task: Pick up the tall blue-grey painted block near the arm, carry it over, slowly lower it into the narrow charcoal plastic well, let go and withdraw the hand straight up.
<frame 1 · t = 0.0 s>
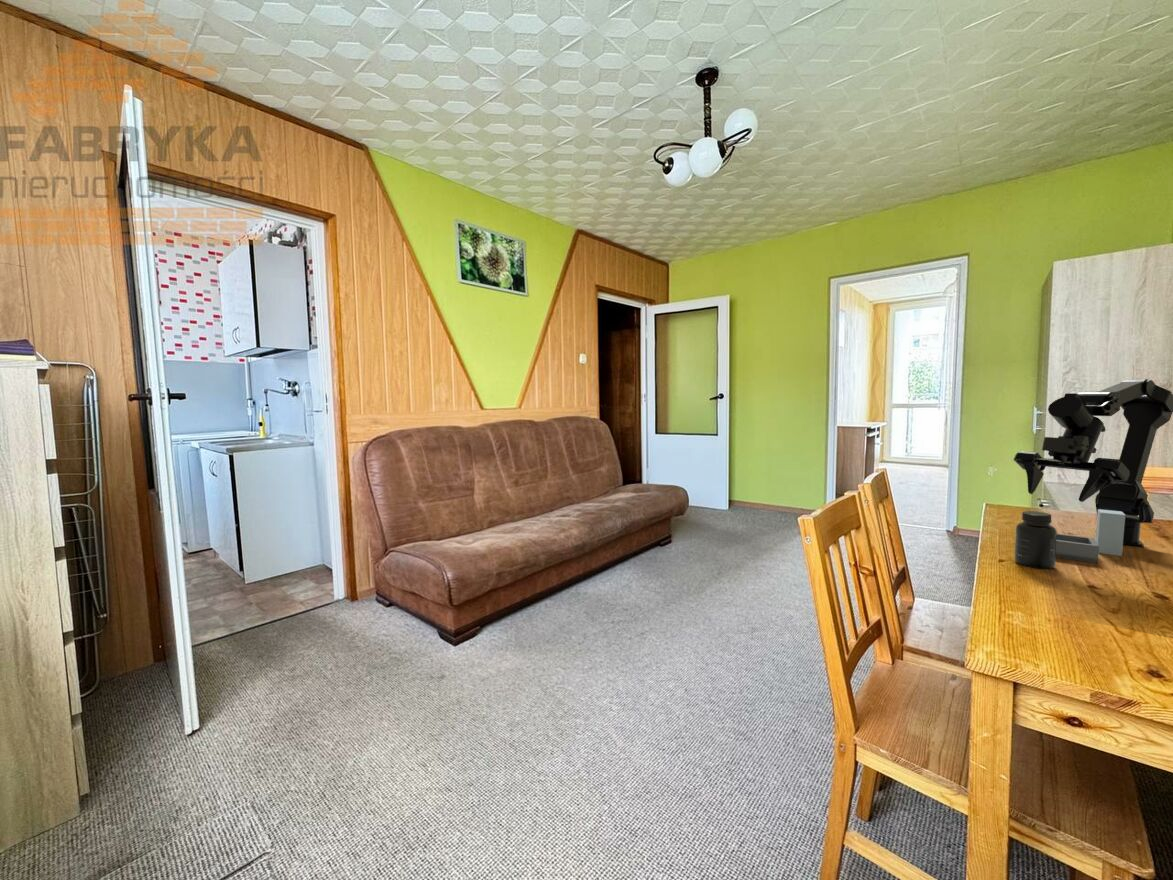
hand: (1054, 497, 110), 15 cm above the table, tool tilted 35°, fingers open, 9 cm apart
supplement bottle: (1033, 565, 108), on the table
blue-grey block: (1107, 552, 115), on the table
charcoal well: (1070, 555, 113), on the table
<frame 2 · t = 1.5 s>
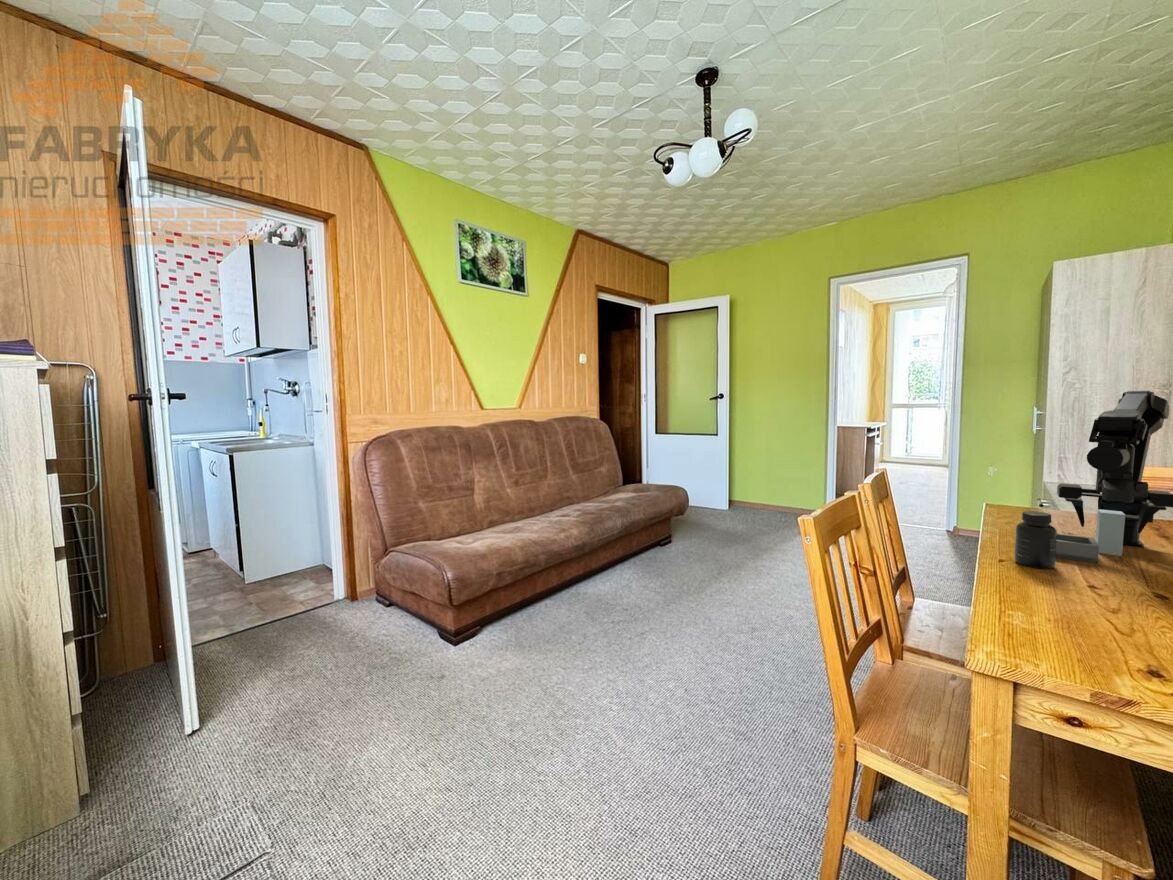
hand: (1109, 529, 114), 6 cm above the table, tool pointing down, fingers open, 9 cm apart
nothing on the table moved.
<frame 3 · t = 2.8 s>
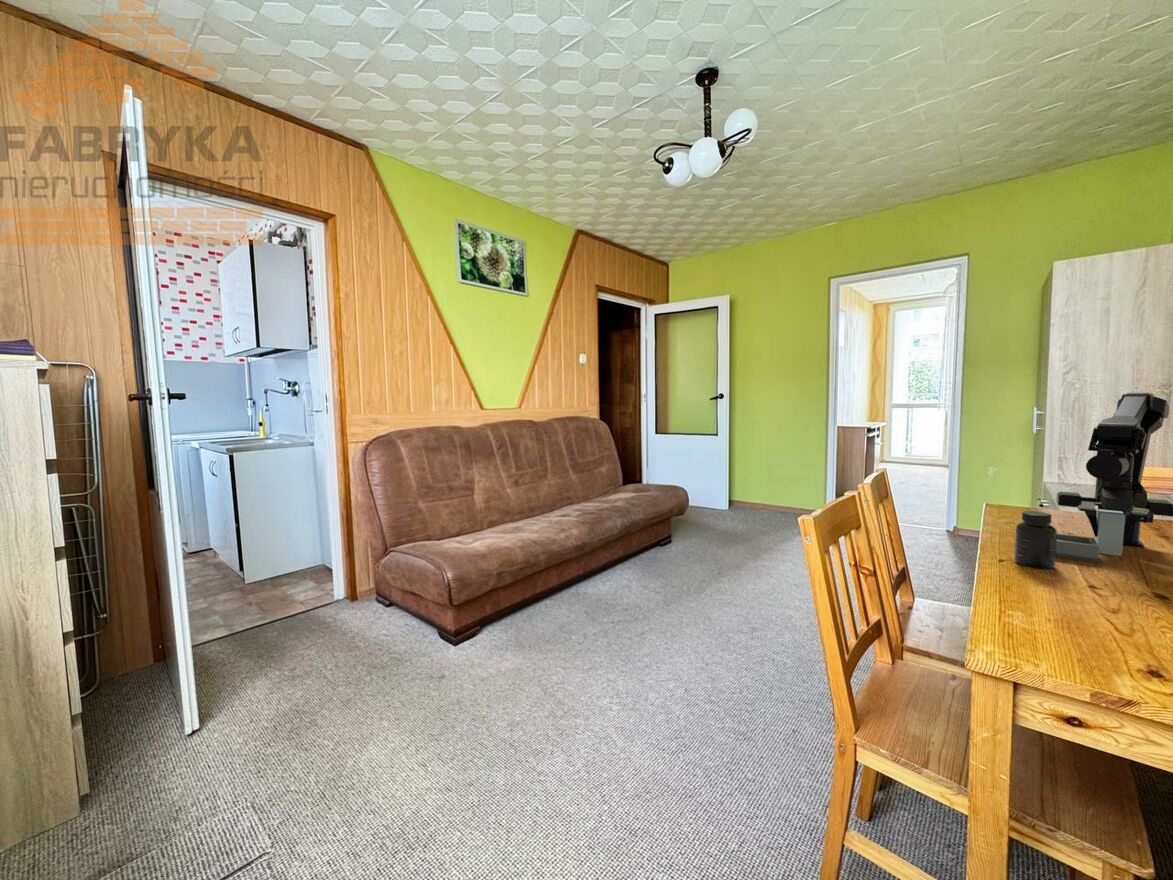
hand: (1109, 538, 114), 4 cm above the table, tool pointing down, fingers closed on blue-grey block, 4 cm apart
blue-grey block: (1107, 552, 115), on the table, touching gripper
everything else where it was.
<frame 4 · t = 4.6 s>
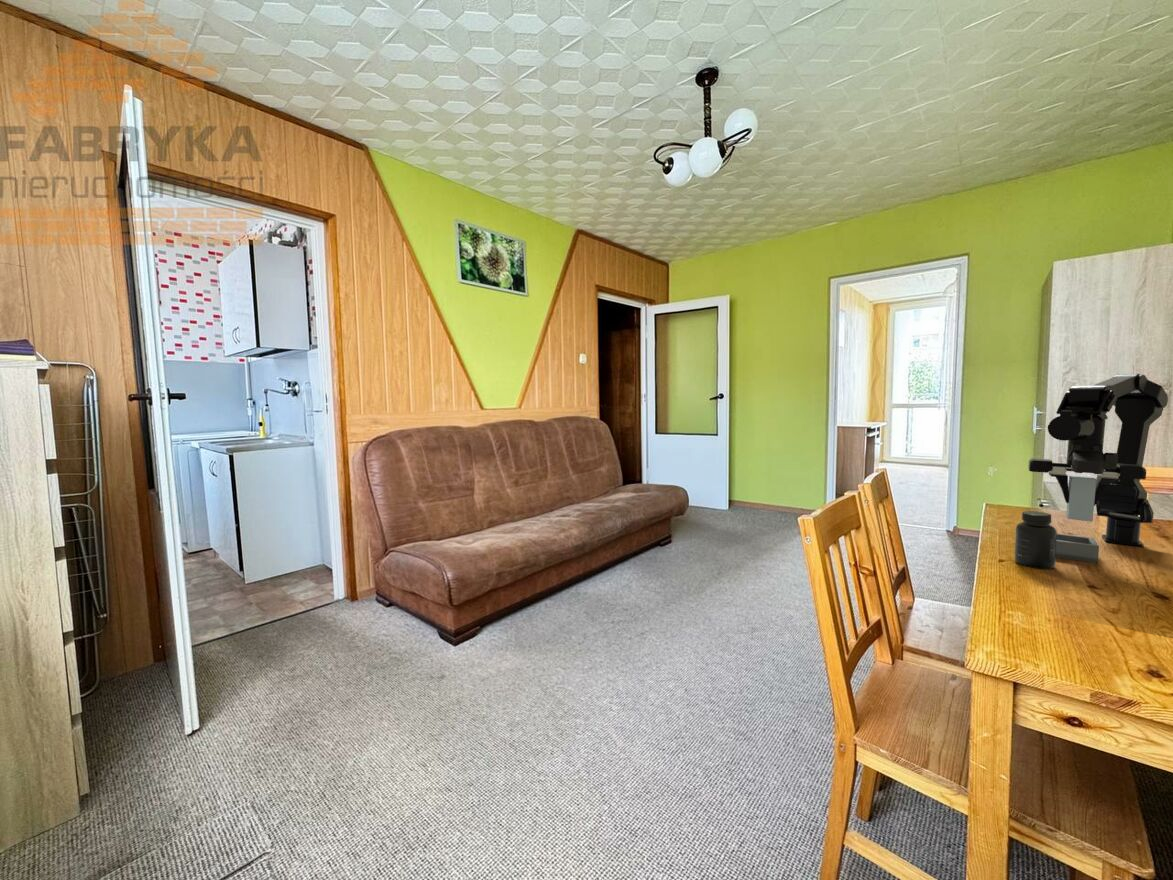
hand: (1080, 504, 112), 12 cm above the table, tool pointing down, fingers closed on blue-grey block, 4 cm apart
blue-grey block: (1079, 518, 112), point 9 cm above the table, touching gripper
everything else where it was.
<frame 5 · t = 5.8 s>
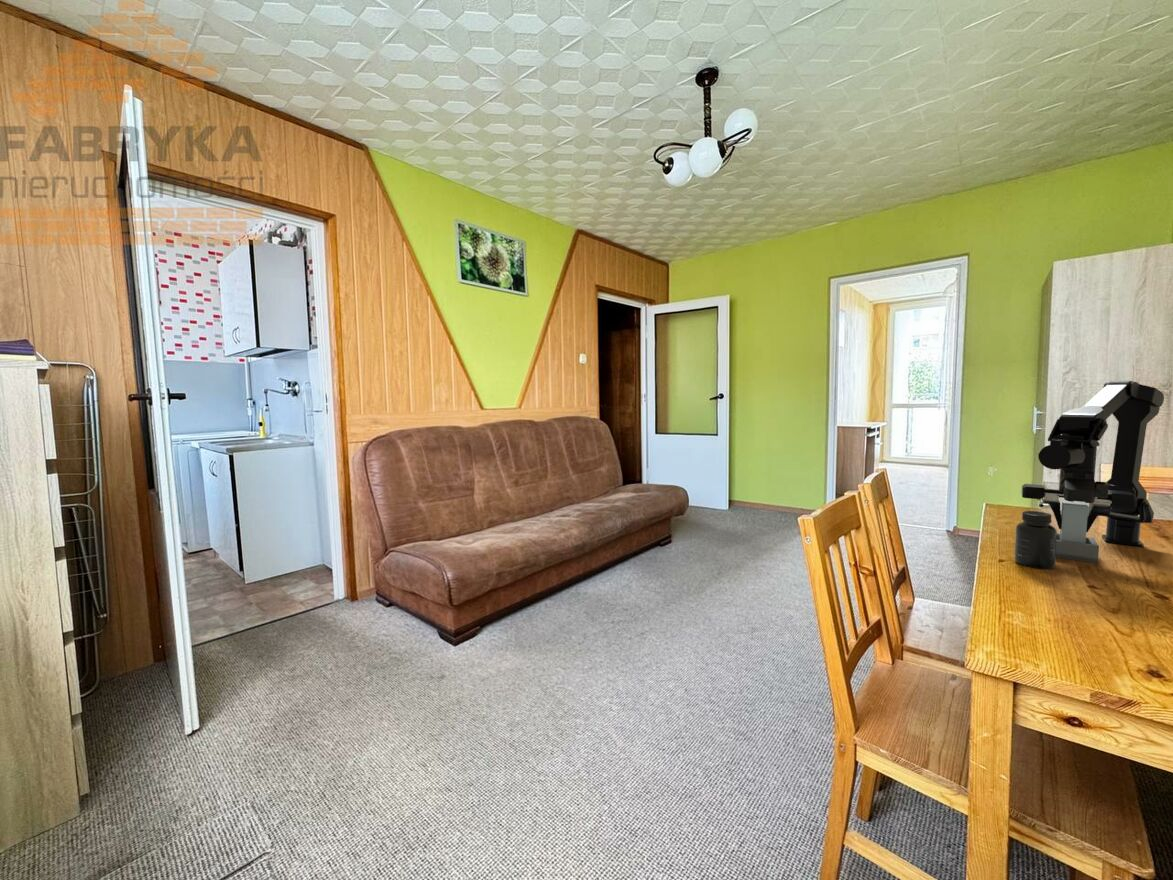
hand: (1072, 530, 113), 6 cm above the table, tool pointing down, fingers closed on blue-grey block, 4 cm apart
blue-grey block: (1071, 544, 113), point 3 cm above the table, touching gripper
everything else where it was.
when the fingers open (5 cm above the table, at t = 6.6 s): blue-grey block stays where it is, resting on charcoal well.
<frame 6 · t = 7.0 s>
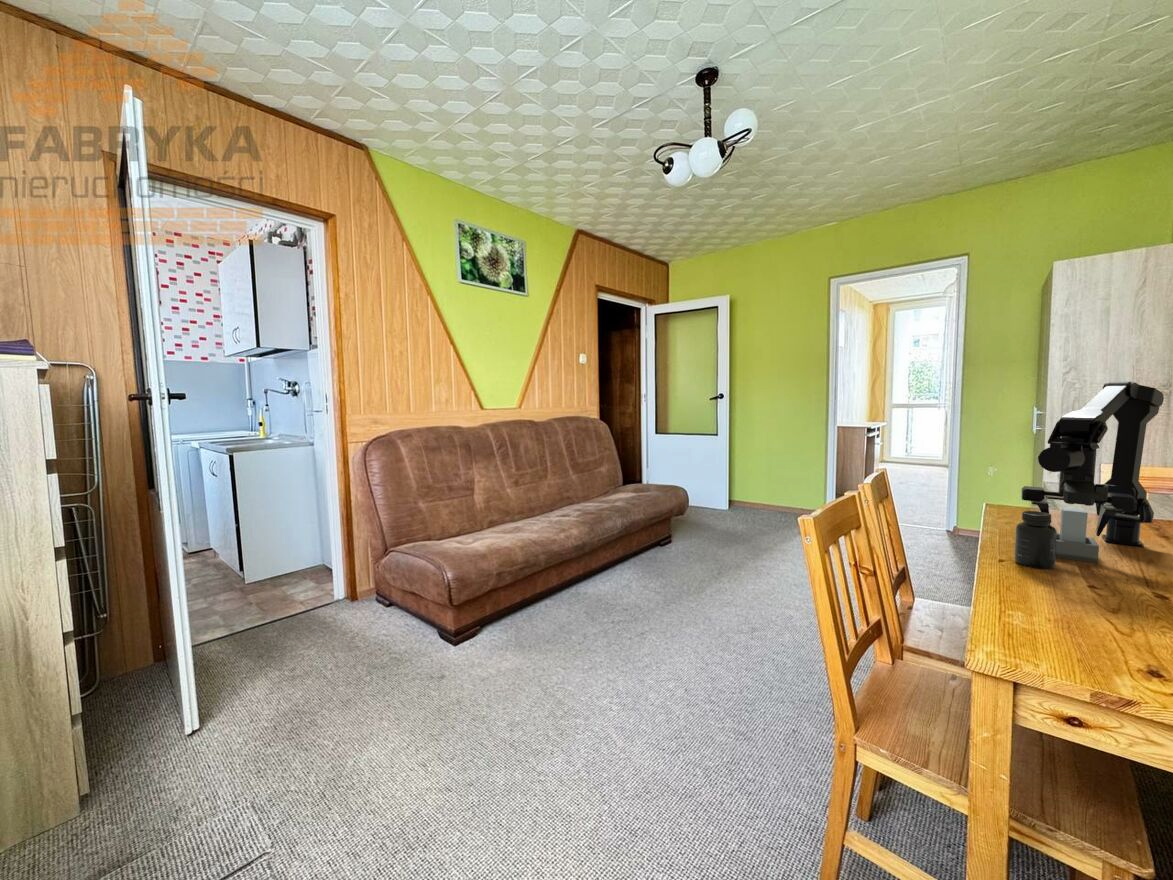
hand: (1072, 532, 113), 5 cm above the table, tool pointing down, fingers open, 8 cm apart
blue-grey block: (1071, 551, 113), point 1 cm above the table, touching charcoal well
everything else where it was.
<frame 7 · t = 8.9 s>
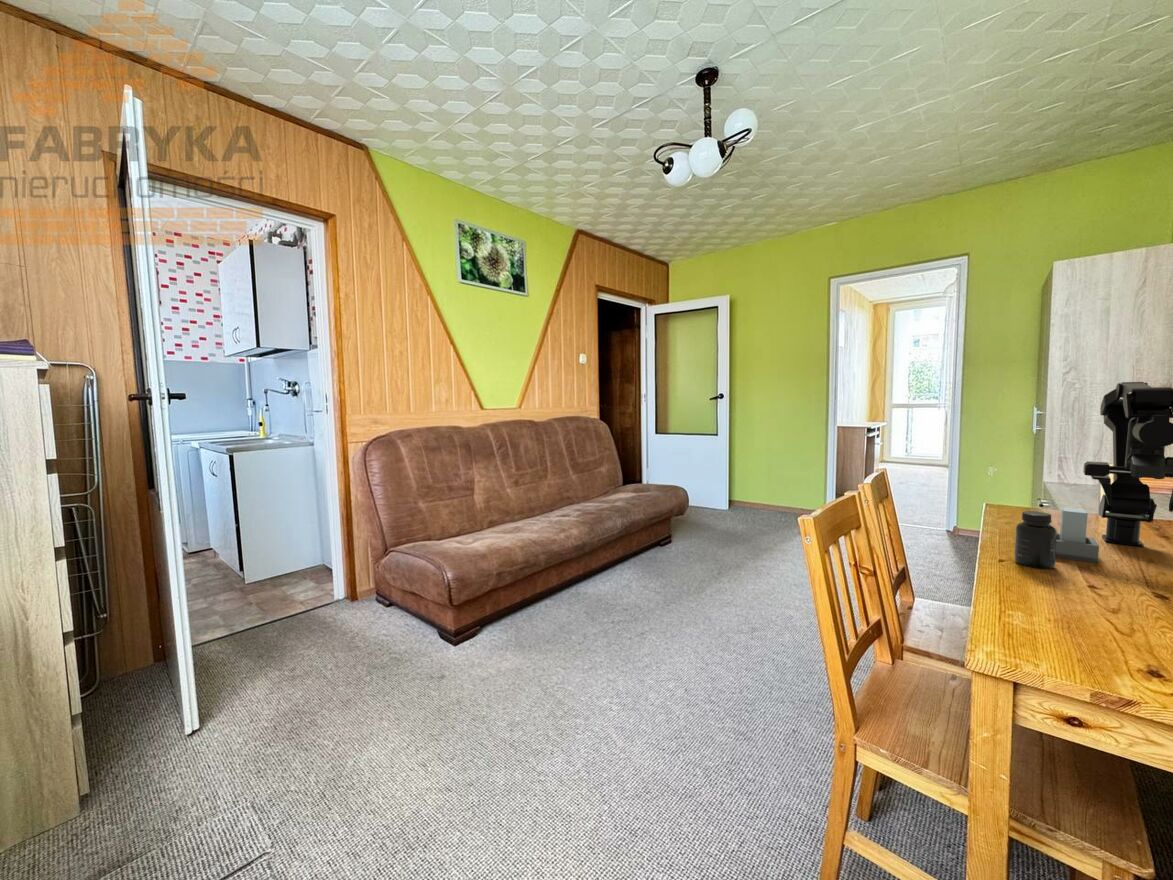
hand: (1139, 508, 110), 12 cm above the table, tool pointing down, fingers open, 9 cm apart
nothing on the table moved.
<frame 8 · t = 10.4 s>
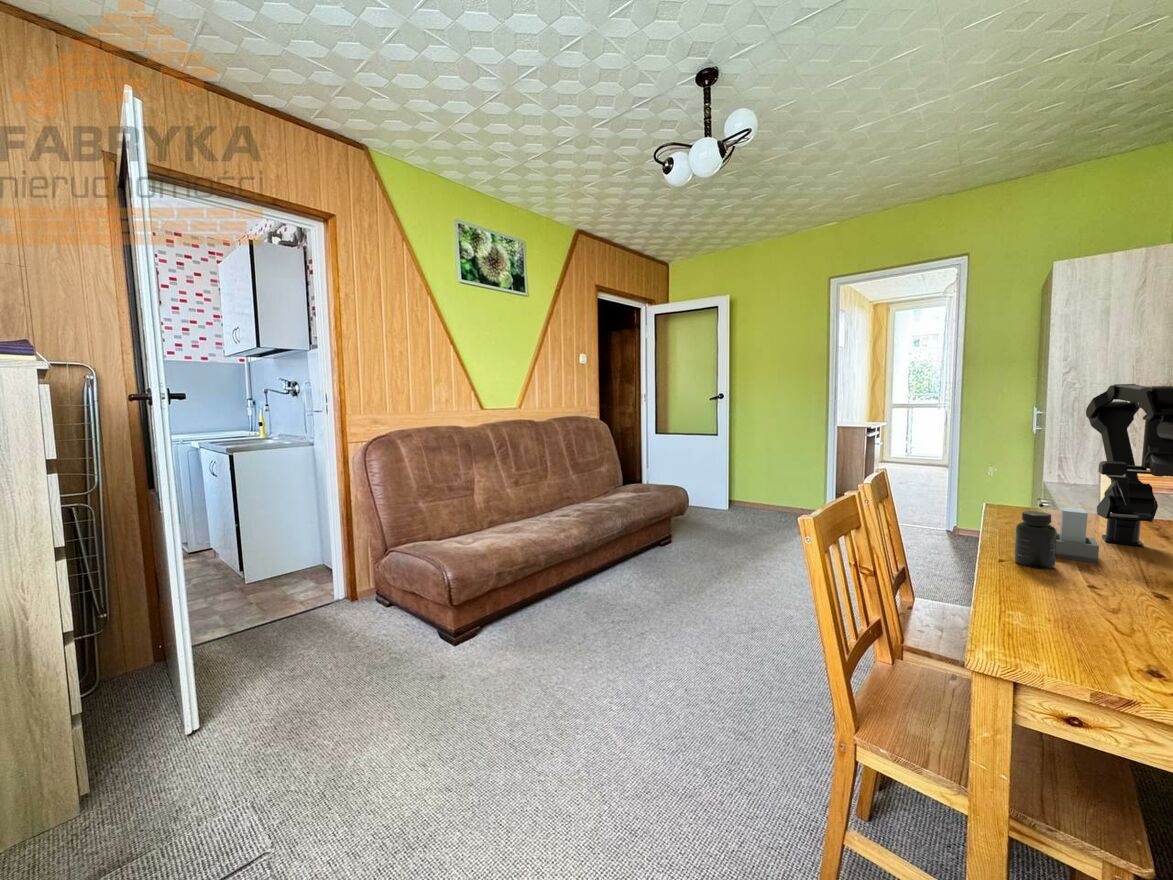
hand: (1156, 507, 109), 12 cm above the table, tool pointing down, fingers open, 9 cm apart
nothing on the table moved.
at the end: blue-grey block 0.0 cm off-centre on the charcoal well, point 1.0 cm above the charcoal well's base; blue-grey block tilted 0°; the gripper is holding nothing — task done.
